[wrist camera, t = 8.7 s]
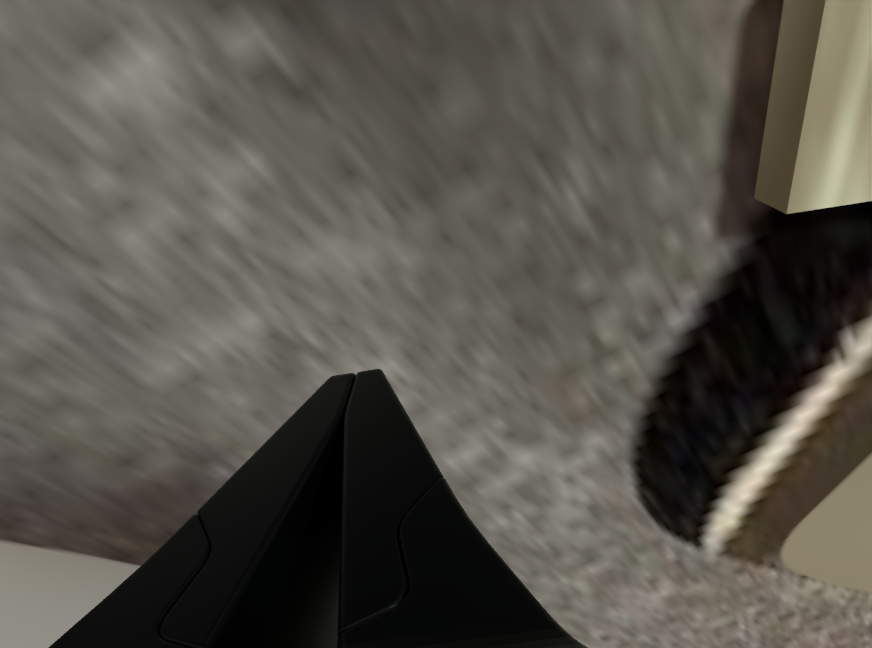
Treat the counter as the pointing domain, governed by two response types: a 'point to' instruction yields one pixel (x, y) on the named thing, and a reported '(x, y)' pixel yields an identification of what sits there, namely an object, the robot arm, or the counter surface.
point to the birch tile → (819, 108)
